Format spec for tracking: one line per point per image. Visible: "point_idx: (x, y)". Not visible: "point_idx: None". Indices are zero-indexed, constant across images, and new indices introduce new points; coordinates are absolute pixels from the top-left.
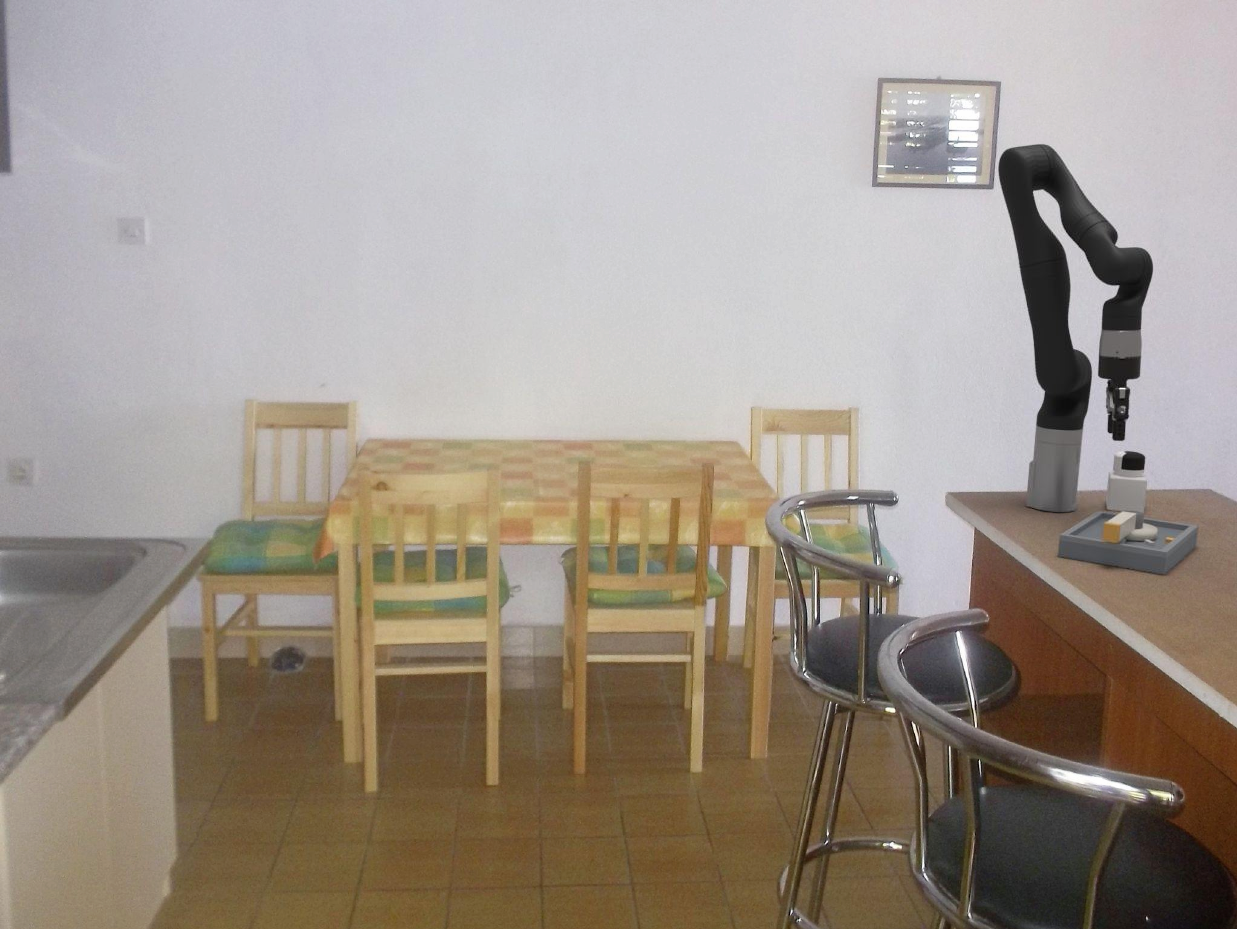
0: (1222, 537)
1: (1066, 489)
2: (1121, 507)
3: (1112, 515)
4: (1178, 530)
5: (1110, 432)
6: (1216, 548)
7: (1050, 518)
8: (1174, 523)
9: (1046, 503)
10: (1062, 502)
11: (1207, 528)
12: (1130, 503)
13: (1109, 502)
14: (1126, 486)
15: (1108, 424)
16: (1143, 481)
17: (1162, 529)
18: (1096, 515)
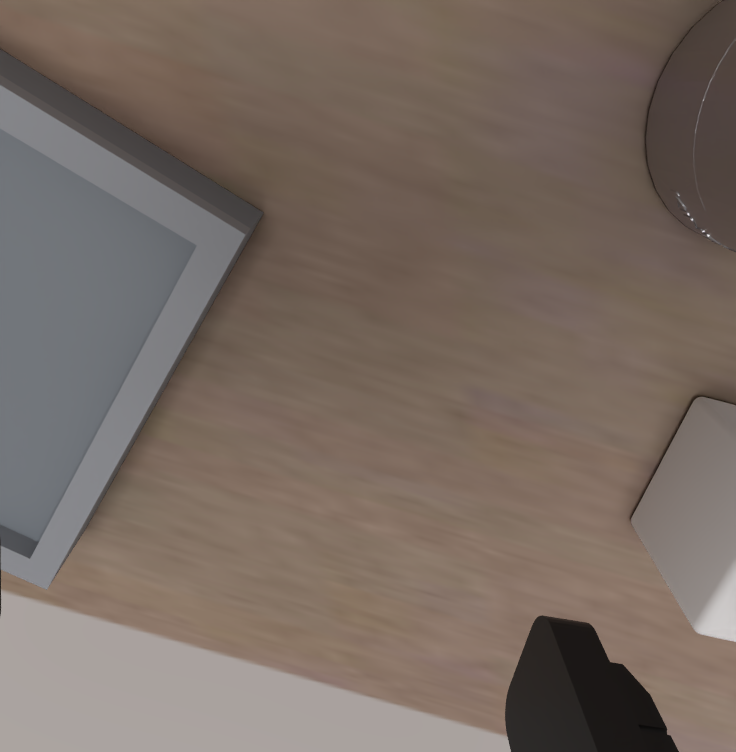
0: (261, 653)
1: (705, 170)
2: (674, 454)
3: (175, 286)
4: (38, 507)
5: (534, 638)
6: (84, 586)
7: (514, 28)
8: (57, 515)
9: (699, 43)
10: (668, 143)
11: (391, 652)
12: (667, 498)
13: (708, 416)
14: (720, 528)
15: (574, 705)
16: (697, 615)
17: (32, 450)
18: (113, 184)
